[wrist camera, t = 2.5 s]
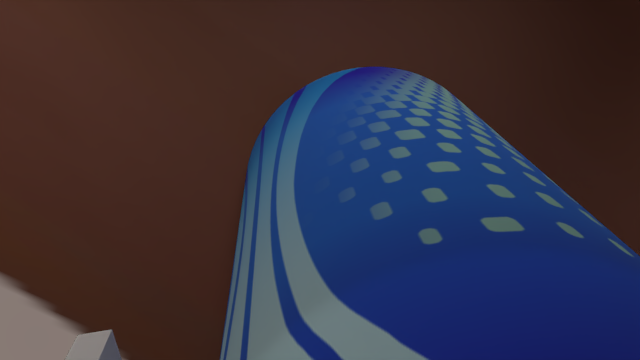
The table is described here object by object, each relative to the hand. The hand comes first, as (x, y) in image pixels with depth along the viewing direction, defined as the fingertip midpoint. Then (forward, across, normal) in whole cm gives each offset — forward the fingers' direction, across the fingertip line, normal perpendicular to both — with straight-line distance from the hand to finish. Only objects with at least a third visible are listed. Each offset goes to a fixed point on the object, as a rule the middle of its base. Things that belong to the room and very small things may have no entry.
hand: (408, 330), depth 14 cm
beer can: (+9, 0, 0) cm, 9 cm away
